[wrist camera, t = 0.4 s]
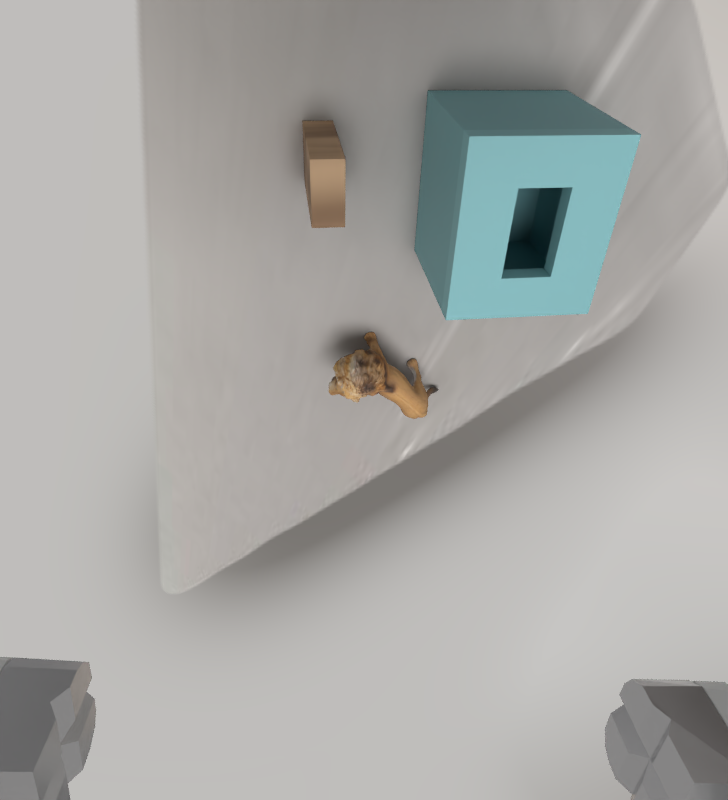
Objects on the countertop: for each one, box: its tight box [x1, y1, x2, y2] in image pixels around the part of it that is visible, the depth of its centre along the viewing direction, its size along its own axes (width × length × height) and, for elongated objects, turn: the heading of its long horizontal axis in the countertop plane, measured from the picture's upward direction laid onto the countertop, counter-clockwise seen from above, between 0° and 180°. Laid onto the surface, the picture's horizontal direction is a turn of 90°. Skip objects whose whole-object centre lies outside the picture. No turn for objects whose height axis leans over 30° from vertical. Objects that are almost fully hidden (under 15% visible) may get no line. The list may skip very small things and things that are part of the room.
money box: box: [414, 90, 641, 320], centre depth 50 cm, size 14×12×13 cm
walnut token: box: [303, 121, 345, 228], centre depth 48 cm, size 5×2×10 cm, turn 178°
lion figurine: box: [329, 332, 439, 419], centre depth 63 cm, size 15×5×9 cm, turn 56°
